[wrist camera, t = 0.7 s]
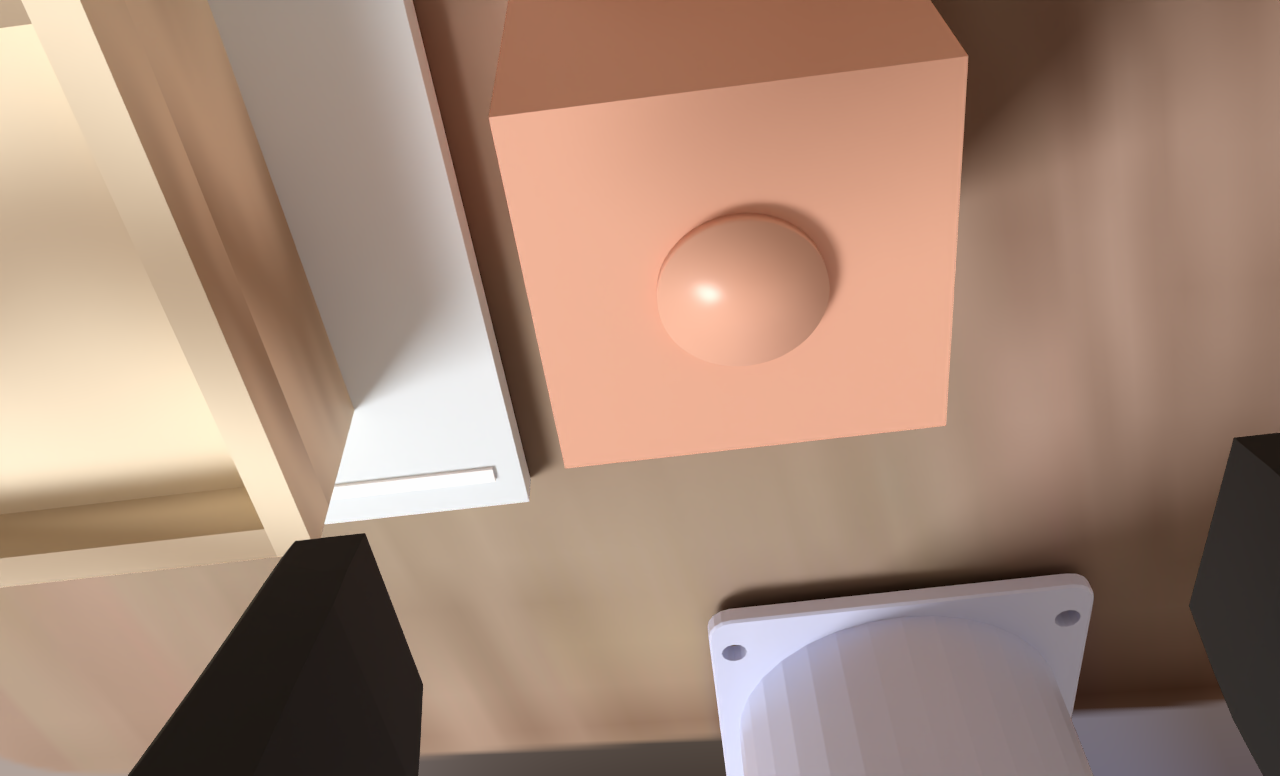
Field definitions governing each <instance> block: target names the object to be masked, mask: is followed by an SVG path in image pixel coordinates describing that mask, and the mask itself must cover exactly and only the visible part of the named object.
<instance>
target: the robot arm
mask: <svg viewBox="0 0 1280 776" xmlns="http://www.w3.org/2000/svg"><path fill="white" fill-rule="evenodd" d="M1093 601H1094V594H1093V590H1092V588H1091V586H1090V584H1089V582H1088V580H1087V579H1086V578H1085V577H1084V576H1081V575H1079V574H1071V573H1065V574H1056V575H1046V576H1037V577H1027V578H1018V579H1008V580H999V581H989V582H980V583H970V584H961V585H951V586H942V587H932V588H923V589H913V590H904V591H894V592H885V593H875V594H866V595H856V596H847V597H837V598H828V599H818V600H809V601H799V602H790V603H780V604H771V605H761V606H752V607H742V608H733V609H727V610H723V611H720V612H718V613H717V614H715V615H713V616H712V618H711V619H710V620H709V623H708V635H709V643H710V651H711V659H712V666H713V674H714V682H715V690H716V697H717V705H718V713H719V720H720V728H721V736H722V743H723V751H724V759H725V767H726V773H727V776H1093V773H1092V771H1091V768H1090V766H1089V763H1088V761H1087V759H1086V756H1085V753H1084V751H1083V748H1082V745H1081V743H1080V741H1079V738H1078V736H1077V733H1076V730H1075V728H1074V725H1073V723H1072V720H1071V718H1072V713H1073V708H1074V702H1075V697H1076V692H1077V686H1078V681H1079V676H1080V670H1081V665H1082V660H1083V654H1084V649H1085V644H1086V638H1087V633H1088V628H1089V622H1090V617H1091V612H1092V606H1093ZM1189 607H1190V610H1191V612H1192V615H1193V618H1194V620H1195V623H1196V626H1197V629H1198V631H1199V634H1200V637H1201V639H1202V642H1203V645H1204V647H1205V650H1206V653H1207V655H1208V658H1209V661H1210V663H1211V666H1212V669H1213V671H1214V674H1215V676H1216V679H1217V681H1218V683H1219V686H1220V688H1221V691H1222V693H1223V696H1224V698H1225V701H1226V703H1227V706H1228V708H1229V710H1230V713H1231V715H1232V718H1233V720H1234V722H1235V724H1236V726H1237V727H1238V729H1239V731H1240V733H1241V735H1242V737H1243V739H1244V741H1245V742H1246V745H1247V747H1248V748H1249V750H1250V752H1251V754H1252V756H1253V757H1254V759H1255V761H1256V763H1257V765H1258V767H1259V769H1260V771H1261V773H1262V774H1263V776H1280V433H1273V434H1264V435H1255V436H1246V437H1237V438H1234V439H1233V443H1232V447H1231V451H1230V454H1229V458H1228V462H1227V466H1226V469H1225V473H1224V477H1223V481H1222V484H1221V488H1220V492H1219V496H1218V499H1217V503H1216V507H1215V511H1214V514H1213V518H1212V522H1211V526H1210V529H1209V533H1208V537H1207V541H1206V544H1205V548H1204V552H1203V556H1202V559H1201V563H1200V567H1199V571H1198V574H1197V578H1196V582H1195V586H1194V589H1193V593H1192V597H1191V601H1190V604H1189ZM731 645H736V646H731ZM422 696H423V683H422V681H421V678H420V675H419V673H418V670H417V668H416V665H415V662H414V660H413V657H412V655H411V652H410V649H409V647H408V644H407V642H406V639H405V636H404V634H403V631H402V628H401V626H400V623H399V621H398V618H397V615H396V613H395V610H394V608H393V605H392V602H391V600H390V597H389V594H388V592H387V589H386V587H385V584H384V581H383V579H382V576H381V574H380V571H379V568H378V566H377V563H376V561H375V558H374V555H373V553H372V550H371V547H370V545H369V542H368V540H367V537H366V534H365V533H363V534H354V535H345V536H336V537H327V538H317V539H308V540H299V541H295V542H294V543H293V544H292V545H291V546H290V548H289V549H288V550H287V551H286V553H285V554H284V555H283V557H282V558H281V560H280V561H279V563H278V564H277V565H276V567H275V568H274V570H273V571H272V573H271V574H270V575H269V577H268V578H267V580H266V581H265V583H264V584H263V586H262V587H261V589H260V590H259V591H258V593H257V594H256V596H255V597H254V599H253V600H252V602H251V603H250V605H249V606H248V608H247V609H246V610H245V612H244V613H243V615H242V616H241V618H240V619H239V621H238V622H237V624H236V625H235V627H234V628H233V629H232V631H231V632H230V634H229V635H228V637H227V638H226V640H225V641H224V643H223V644H222V645H221V647H220V648H219V650H218V651H217V653H216V654H215V655H214V657H213V658H212V660H211V661H210V663H209V664H208V665H207V667H206V668H205V670H204V671H203V673H202V674H201V675H200V677H199V678H198V680H197V681H196V683H195V684H194V685H193V687H192V688H191V690H190V691H189V692H188V694H187V695H186V697H185V698H184V699H183V701H182V702H181V703H180V705H179V706H178V708H177V709H176V710H175V712H174V713H173V714H172V716H171V717H170V719H169V720H168V721H167V723H166V724H165V725H164V727H163V728H162V730H161V731H160V732H159V734H158V735H157V736H156V738H155V739H154V740H153V742H152V743H151V745H150V746H149V747H148V749H147V750H146V751H145V753H144V754H143V756H142V757H141V758H140V760H139V761H138V762H137V764H136V765H135V767H134V768H133V769H132V771H131V772H130V773H129V774H128V776H418V769H419V756H420V738H421V717H422Z"/></svg>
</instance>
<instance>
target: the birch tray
mask: <svg viewBox="0 0 1280 776" xmlns="http://www.w3.org/2000/svg"><path fill="white" fill-rule="evenodd" d="M353 414H354V408H353V405H352V402H351V399H350V397H349V394H348V391H347V388H346V385H345V383H344V380H343V377H342V374H341V371H340V369H339V366H338V363H337V360H336V357H335V355H334V352H333V349H332V346H331V344H330V341H329V338H328V335H327V332H326V330H325V327H324V324H323V321H322V318H321V316H320V313H319V310H318V307H317V304H316V302H315V299H314V296H313V293H312V290H311V288H310V285H309V282H308V279H307V277H306V274H305V271H304V268H303V265H302V263H301V260H300V257H299V254H298V251H297V249H296V246H295V243H294V240H293V237H292V235H291V232H290V229H289V226H288V224H287V221H286V218H285V215H284V212H283V210H282V207H281V204H280V201H279V198H278V196H277V193H276V190H275V187H274V184H273V182H272V179H271V176H270V173H269V170H268V168H267V165H266V162H265V159H264V157H263V154H262V151H261V148H260V145H259V143H258V140H257V137H256V134H255V131H254V129H253V126H252V123H251V120H250V117H249V115H248V112H247V109H246V106H245V104H244V101H243V98H242V95H241V92H240V90H239V87H238V84H237V81H236V78H235V76H234V73H233V70H232V67H231V64H230V62H229V59H228V56H227V53H226V50H225V48H224V45H223V42H222V39H221V37H220V34H219V31H218V28H217V25H216V23H215V20H214V17H213V14H212V11H211V9H210V6H209V3H208V0H0V588H2V587H11V586H20V585H29V584H38V583H47V582H56V581H65V580H74V579H84V578H93V577H102V576H111V575H120V574H129V573H138V572H147V571H156V570H165V569H175V568H184V567H193V566H202V565H211V564H220V563H229V562H238V561H247V560H257V559H266V558H275V557H283V555H284V554H285V553H286V551H287V550H288V549H289V548H290V546H291V545H292V544H293V543H294V542H295V541H299V540H308V539H317V538H321V534H322V530H323V527H324V523H325V519H326V515H327V512H328V508H329V504H330V500H331V497H332V493H333V489H334V485H335V482H336V478H337V474H338V470H339V467H340V463H341V459H342V455H343V452H344V448H345V444H346V440H347V436H348V433H349V429H350V425H351V421H352V418H353Z"/></svg>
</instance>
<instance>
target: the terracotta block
mask: <svg viewBox="0 0 1280 776" xmlns="http://www.w3.org/2000/svg"><path fill="white" fill-rule="evenodd" d="M967 70H968V55H967V53H966V52H965V50H964V49H963V47H962V46H961V44H960V43H959V42H958V40H957V39H956V37H955V36H954V34H953V33H952V31H951V30H950V28H949V27H948V25H947V24H946V22H945V21H944V20H943V18H942V17H941V15H940V14H939V12H938V11H937V9H936V8H935V6H934V5H933V3H932V2H931V0H509V1H508V7H507V12H506V18H505V24H504V30H503V36H502V42H501V48H500V54H499V59H498V65H497V71H496V77H495V83H494V89H493V95H492V101H491V106H490V112H489V122H490V126H491V131H492V135H493V140H494V144H495V149H496V154H497V158H498V163H499V167H500V172H501V177H502V181H503V186H504V190H505V195H506V199H507V204H508V209H509V213H510V218H511V222H512V227H513V232H514V236H515V241H516V245H517V250H518V254H519V259H520V264H521V268H522V273H523V277H524V282H525V286H526V291H527V296H528V300H529V305H530V309H531V314H532V319H533V323H534V328H535V332H536V337H537V341H538V346H539V351H540V355H541V360H542V364H543V369H544V374H545V378H546V383H547V387H548V392H549V396H550V401H551V406H552V410H553V415H554V419H555V424H556V429H557V433H558V438H559V442H560V447H561V451H562V456H563V461H564V465H565V468H574V467H583V466H592V465H601V464H610V463H619V462H627V461H636V460H645V459H654V458H663V457H672V456H681V455H690V454H699V453H707V452H716V451H725V450H734V449H743V448H752V447H761V446H770V445H779V444H787V443H796V442H805V441H814V440H823V439H832V438H841V437H850V436H859V435H867V434H876V433H885V432H894V431H903V430H912V429H921V428H930V427H939V426H946V416H947V400H948V383H949V367H950V350H951V334H952V318H953V301H954V285H955V268H956V252H957V235H958V219H959V202H960V186H961V169H962V153H963V136H964V120H965V103H966V87H967Z"/></svg>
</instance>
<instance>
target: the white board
mask: <svg viewBox="0 0 1280 776" xmlns="http://www.w3.org/2000/svg"><path fill="white" fill-rule="evenodd" d="M208 3H209V6H210V9H211V11H212V14H213V17H214V20H215V23H216V25H217V28H218V31H219V34H220V37H221V39H222V42H223V45H224V48H225V50H226V53H227V56H228V59H229V62H230V64H231V67H232V70H233V73H234V76H235V78H236V81H237V84H238V87H239V90H240V92H241V95H242V98H243V101H244V104H245V106H246V109H247V112H248V115H249V117H250V120H251V123H252V126H253V129H254V131H255V134H256V137H257V140H258V143H259V145H260V148H261V151H262V154H263V157H264V159H265V162H266V165H267V168H268V170H269V173H270V176H271V179H272V182H273V184H274V187H275V190H276V193H277V196H278V198H279V201H280V204H281V207H282V210H283V212H284V215H285V218H286V221H287V224H288V226H289V229H290V232H291V235H292V237H293V240H294V243H295V246H296V249H297V251H298V254H299V257H300V260H301V263H302V265H303V268H304V271H305V274H306V277H307V279H308V282H309V285H310V288H311V290H312V293H313V296H314V299H315V302H316V304H317V307H318V310H319V313H320V316H321V318H322V321H323V324H324V327H325V330H326V332H327V335H328V338H329V341H330V344H331V346H332V349H333V352H334V355H335V357H336V360H337V363H338V366H339V369H340V371H341V374H342V377H343V380H344V383H345V385H346V388H347V391H348V394H349V397H350V399H351V402H352V405H353V408H354V414H353V418H352V421H351V425H350V429H349V433H348V436H347V440H346V444H345V448H344V452H343V455H342V459H341V463H340V467H339V470H338V474H337V478H336V482H335V485H334V489H333V493H332V497H331V500H330V504H329V508H328V512H327V515H326V519H325V523H324V524H332V523H341V522H350V521H359V520H368V519H377V518H386V517H395V516H404V515H413V514H422V513H431V512H440V511H449V510H458V509H467V508H476V507H485V506H494V505H503V504H512V503H521V502H529V496H530V481H531V479H530V475H529V471H528V467H527V463H526V459H525V455H524V451H523V447H522V443H521V439H520V435H519V431H518V427H517V423H516V419H515V414H514V410H513V406H512V402H511V398H510V394H509V390H508V386H507V382H506V378H505V374H504V370H503V366H502V362H501V358H500V354H499V350H498V345H497V341H496V337H495V333H494V329H493V325H492V321H491V317H490V313H489V309H488V305H487V301H486V297H485V293H484V289H483V285H482V280H481V276H480V272H479V268H478V264H477V260H476V256H475V252H474V248H473V244H472V240H471V236H470V232H469V228H468V224H467V220H466V216H465V211H464V207H463V203H462V199H461V195H460V191H459V187H458V183H457V179H456V175H455V171H454V167H453V163H452V159H451V155H450V151H449V146H448V142H447V138H446V134H445V130H444V126H443V122H442V118H441V114H440V110H439V106H438V102H437V98H436V94H435V90H434V86H433V82H432V77H431V73H430V69H429V65H428V61H427V57H426V53H425V49H424V45H423V41H422V37H421V33H420V29H419V25H418V21H417V17H416V12H415V8H414V4H413V0H208Z"/></svg>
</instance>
